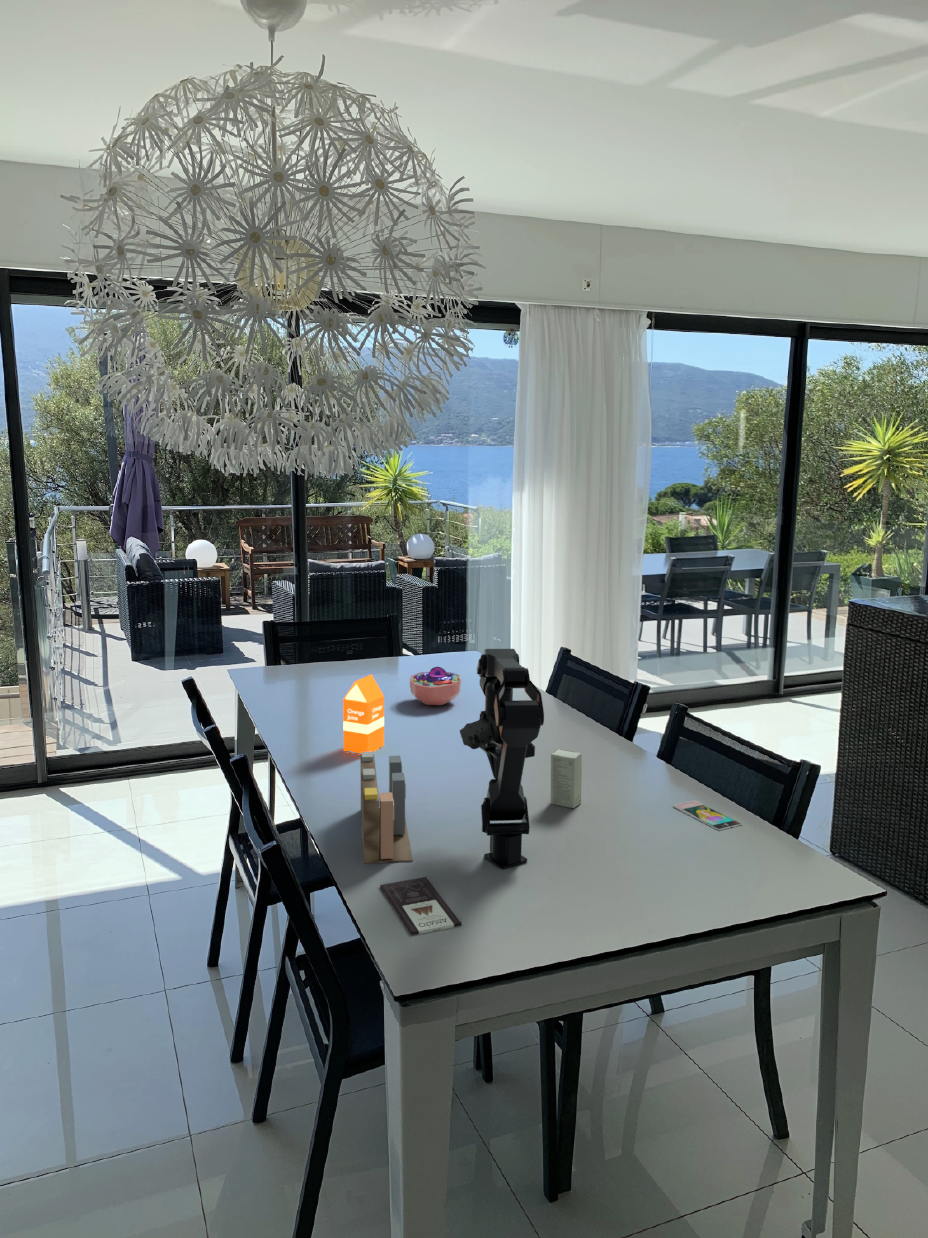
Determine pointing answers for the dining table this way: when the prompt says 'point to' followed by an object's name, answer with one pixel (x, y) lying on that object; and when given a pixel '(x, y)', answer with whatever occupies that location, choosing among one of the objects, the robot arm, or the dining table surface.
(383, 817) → the terracotta key
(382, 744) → the orange juice
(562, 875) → the dining table surface
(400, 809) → the middle slate key
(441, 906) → the chocolate bar
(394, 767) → the key
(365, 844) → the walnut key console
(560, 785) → the skincare box
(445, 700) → the cell model
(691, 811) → the smartphone
